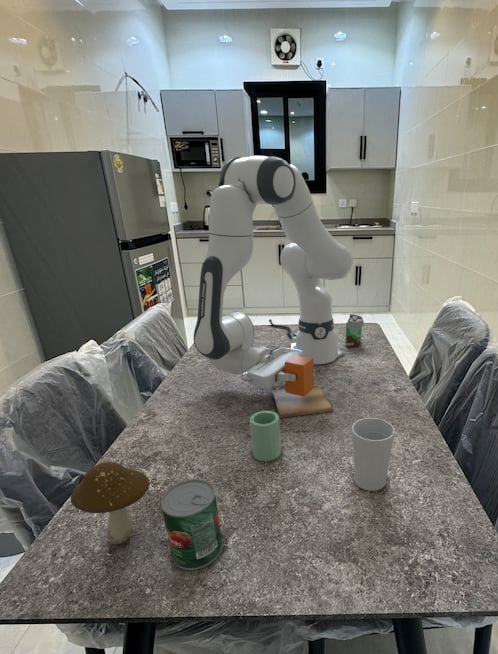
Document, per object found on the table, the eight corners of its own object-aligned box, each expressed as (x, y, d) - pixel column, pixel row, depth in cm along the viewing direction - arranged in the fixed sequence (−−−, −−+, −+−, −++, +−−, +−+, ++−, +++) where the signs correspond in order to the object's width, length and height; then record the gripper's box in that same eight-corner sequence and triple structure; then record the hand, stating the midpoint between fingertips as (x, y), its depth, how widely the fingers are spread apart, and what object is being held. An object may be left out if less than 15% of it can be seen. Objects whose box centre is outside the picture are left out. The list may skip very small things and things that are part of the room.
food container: (361, 349, 143) (362, 323, 139) (345, 348, 144) (346, 322, 140) (364, 338, 154) (365, 314, 150) (349, 337, 155) (349, 313, 151)
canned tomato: (161, 561, 60) (148, 507, 55) (192, 524, 67) (182, 474, 62) (204, 577, 57) (194, 521, 53) (232, 537, 64) (225, 485, 60)
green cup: (251, 446, 88) (248, 412, 84) (278, 443, 89) (276, 409, 85) (254, 463, 82) (251, 427, 78) (283, 459, 83) (281, 423, 80)
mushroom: (151, 560, 60) (131, 484, 54) (76, 565, 60) (48, 489, 54) (167, 516, 69) (152, 446, 63) (102, 520, 68) (80, 450, 62)
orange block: (286, 392, 104) (284, 361, 100) (296, 384, 108) (295, 354, 105) (304, 396, 101) (303, 365, 98) (313, 388, 106) (313, 358, 102)
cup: (343, 473, 79) (344, 423, 74) (376, 463, 81) (379, 414, 77) (362, 498, 72) (365, 445, 67) (398, 486, 75) (403, 434, 70)
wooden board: (272, 393, 111) (272, 390, 111) (319, 388, 114) (319, 385, 114) (279, 418, 99) (279, 414, 98) (332, 411, 102) (332, 407, 101)
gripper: (235, 366, 98) (282, 376, 93) (277, 342, 115) (319, 349, 109) (238, 388, 101) (283, 399, 95) (278, 361, 118) (319, 369, 112)
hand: (302, 372), depth 102 cm, fingers closed on orange block, 5 cm apart
